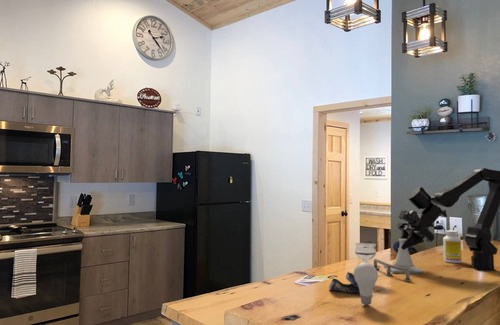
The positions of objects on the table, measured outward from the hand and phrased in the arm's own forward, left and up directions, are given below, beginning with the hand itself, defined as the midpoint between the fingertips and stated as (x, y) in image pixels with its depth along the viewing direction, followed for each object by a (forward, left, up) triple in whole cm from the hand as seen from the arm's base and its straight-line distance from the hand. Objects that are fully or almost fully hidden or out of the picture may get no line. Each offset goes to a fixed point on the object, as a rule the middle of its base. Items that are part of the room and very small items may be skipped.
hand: (399, 248), depth 146 cm
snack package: (+19, +35, -9) cm, 41 cm away
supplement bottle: (-24, -23, -8) cm, 35 cm away
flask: (-1, 0, -7) cm, 7 cm away
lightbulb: (+16, +49, -8) cm, 52 cm away
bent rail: (+5, +9, -8) cm, 13 cm away
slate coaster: (-1, 0, -8) cm, 8 cm away
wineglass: (+14, +21, -8) cm, 26 cm away
